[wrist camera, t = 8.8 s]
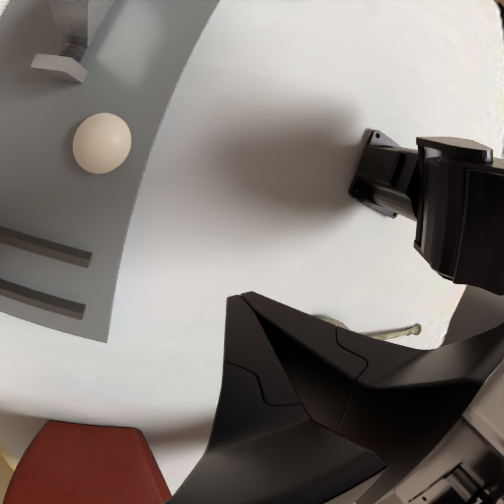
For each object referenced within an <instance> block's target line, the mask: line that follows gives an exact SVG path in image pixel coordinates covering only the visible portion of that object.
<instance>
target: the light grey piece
mask: <svg viewBox="0 0 504 504" xmlns="http://www.w3.org/2000/svg"><path fill="white" fill-rule="evenodd" d="M114 1H115V0H48V2H49V5H50V8H51V12H52V15H53V18H54V21H55V25H56V28H57V31H58V34H59V37H60V39H61V42H62V43H63V44H64V45H63V47H62V49H61V51H60V53H59V55H58V56H63V57H70V58H73V59H74V60H75V61H76V62H81V60H82V58H83V56H84V54H85V51H86V49H88V47H89V45H90V43H91V41H92V39H93V37H94V35H95V34H96V32H97V30H98V28H99V26H100V24H101V23H102V21H103V19H104V17H105V16H106V14H107V12H108V11H109V9H110V7H111V6H112V4H113V3H114Z"/></svg>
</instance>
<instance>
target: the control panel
mask: <svg viewBox="0 0 504 504" xmlns="http://www.w3.org/2000/svg"><path fill="white" fill-rule="evenodd" d="M219 2H220V0H115V1H114V3H113V4H112V6H111V7H110V9H109V11H108V12H107V14H106V16H105V17H104V19H103V21H102V23H101V24H100V26H99V28H98V30H97V32H96V34H95V35H94V37H93V39H92V41H91V43H90V45H89V47H88V49H86V51H85V54H84V56H83V58H82V60H81V62H76V61H75V60H74V59H73V58H70V57H63V56H58V55H59V53H60V51H61V49H62V47H63V45H64V44H63V43H62V42H61V39H60V37H59V34H58V31H57V28H56V25H55V21H54V18H53V15H52V12H51V8H50V5H49V2H48V0H10V2H9V4H8V5H7V7H6V9H5V10H4V12H3V14H2V16H1V18H0V311H1V312H3V313H6V314H9V315H11V316H14V317H17V318H20V319H23V320H26V321H29V322H32V323H35V324H38V325H41V326H44V327H48V328H51V329H54V330H58V331H61V332H65V333H68V334H72V335H76V336H80V337H84V338H87V339H92V340H96V341H100V342H104V343H107V339H108V334H109V328H110V320H111V313H112V307H113V301H114V295H115V289H116V283H117V278H118V273H119V268H120V263H121V258H122V253H123V249H124V244H125V240H126V236H127V232H128V227H129V223H130V220H131V216H132V212H133V208H134V205H135V201H136V197H137V194H138V191H139V187H140V184H141V180H142V177H143V174H144V171H145V168H146V165H147V162H148V159H149V156H150V153H151V150H152V147H153V144H154V141H155V138H156V136H157V133H158V130H159V128H160V125H161V122H162V120H163V117H164V115H165V112H166V110H167V107H168V105H169V102H170V100H171V97H172V95H173V93H174V90H175V88H176V86H177V83H178V81H179V79H180V77H181V74H182V72H183V70H184V68H185V66H186V64H187V62H188V60H189V57H190V55H191V53H192V51H193V49H194V47H195V45H196V43H197V42H198V40H199V38H200V36H201V34H202V32H203V30H204V28H205V26H206V25H207V23H208V21H209V19H210V17H211V16H212V14H213V12H214V10H215V9H216V7H217V5H218V4H219Z"/></svg>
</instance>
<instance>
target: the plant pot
mask: <svg viewBox="0 0 504 504" xmlns="http://www.w3.org/2000/svg"><path fill="white" fill-rule="evenodd" d="M171 497H172V495H171V493H170V490H169V488H168V486H167V484H166V482H165V479H164V477H163V475H162V473H161V471H160V469H159V467H158V464H157V462H156V460H155V458H154V456H153V454H152V451H151V449H150V447H149V445H148V443H147V441H146V439H145V437H144V435H143V433H142V432H141V431H140V430H138V429H135V428H115V427H100V426H88V425H78V424H69V423H62V422H55V421H48V422H47V423H46V424H45V425H44V426H43V427H42V428H41V430H40V431H39V432H38V434H37V435H36V436H35V438H34V439H33V440H32V442H31V443H30V445H29V446H28V448H27V449H26V451H25V453H24V454H23V456H22V458H21V459H20V461H19V463H18V465H17V467H16V469H15V471H14V473H13V476H12V478H11V480H10V483H9V485H8V488H7V491H6V494H5V497H4V500H3V504H162V503H164V502H165V501H167V500H168V499H170V498H171Z"/></svg>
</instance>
